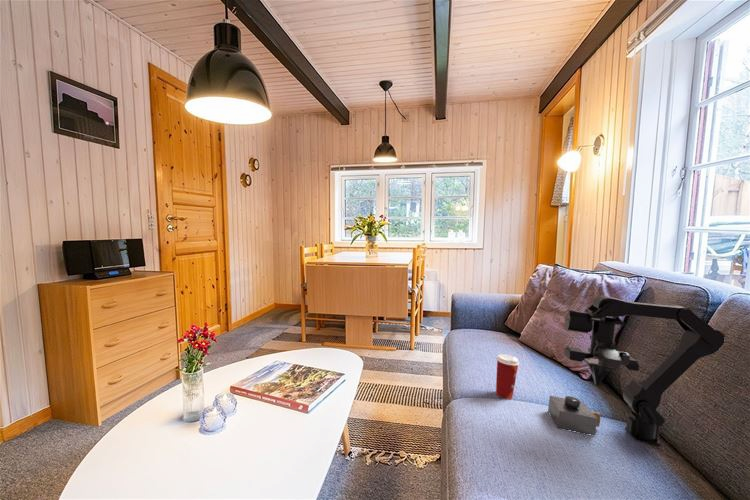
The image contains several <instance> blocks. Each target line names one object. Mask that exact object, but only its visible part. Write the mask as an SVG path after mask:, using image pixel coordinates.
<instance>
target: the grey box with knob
mask: <svg viewBox="0 0 750 500" xmlns="http://www.w3.org/2000/svg"><path fill="white" fill-rule="evenodd" d="M548 398H549V399H548V409H547V412H548V414H549V413H550V414H549V416H550V415H551V416H550V417H552V418H551V420H552V419H553V420H552V422H553V423H554V425H555V424H556V425H555V427H556V426H557V427H556V428H557V429H558V430H562V429H565V430H564V431H567V430H571V431H570V432H572V431H576V432H580V433H579V434H581V433H585V434H584V435H586V434H591V435H595V436H596V429H597V428H600V423H601V415H602V414H601V413H600V412H599V411H594V410H591V409H590V408H589V407H588V406H587V405H586V403H585V402H584V401H581V400H580V408H579V409H573V408H570V407H568V406H566V405H565V397H559V396H554V395H549V397H548ZM576 432H575V433H576Z"/></svg>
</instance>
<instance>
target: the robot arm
mask: <svg viewBox="0 0 750 500" xmlns="http://www.w3.org/2000/svg"><path fill="white" fill-rule="evenodd" d="M626 316H638V317H647V318H655V319H656V318H658V319H666V320H667V319H668V320H674V321H675V322H676V324H678V326H679V327H680V328H681V330H683V331H684V333H683V334H682V336H681V338H680V343H679V346H678V348H676V349H675V350H674V352H672V354H670V356H668V357H667V358H666V359H665V360H664V361H663V362H662V363H661V364H660V365H658V367H656V369H655V370H654V371H652V373H651V374H650V375H648V376H647V377H646V379H644V380H643V381H639V382H637V381H636V380H635V379H632V380H631V381H630V382H629V384H628V385H626V386H625V387H623V390H624V391H623V393H622V397H623V400H624V401H625V403H626V404H628V408H629V409H630V410H631V411H630V412H629V416H628V417H627V420H626V426H624V429H625V430H626V431H627V432H628V433H629V434H630V435H631V437H633V439H634V440H636V441H638V440H640V441H639V442H643V441H645V442H644V443H648V442H649V443H648V444H652V445H658V446H662V443H661V441H659V437H660V436H659V433H660V427H662V426H663V425H664V423H665V422H666V419H665V418H664V417H663V416H662V415H661V414H660V412H659V411H657V409H658V408H659V407H660V405H661V401H662V396H663V394H664V393H665V392H666V391H667V390H668V389H669V388H670V387H671V386H672V385H673V384H674V383H675V382H676V381H678V380H679V378H681V376H682V375H684V374H685V373H686V372H687V371H688V370H689V369H690V368H691V367H692V366H693V365H694V364H695V363H696V362H697V361H698V360H700V359H703V358H705V357H709V356H712V355H714V354H716V353H717V352H719V351H720V350H719V348H720V347H721V346H722V345H723V343H724V337H726V336H725V334H724V333H723V332H722V331H720V330H718V329H714V328H713V327H712V326H711V325H710V324H708V323H707V322H706V321H704V320H703V319H702V318H700V317H699V316H697V314H696V313H694V312H693V311H692V310H691V309H690V308H688V307H685V306H681V305H666V304H655V303H647V302H638V301H637V302H636V301H627V300H623V299H620V298H617V297H612V296H608V295H597V297H595V298H594V300H593V301H592V304H591V305H589V307H588V308H586V309H585V310H584V311H577V310H575V309H567V313H566V315H565V318H564V329H565V331H569V332H574V333H581V334H588V333H591V335H589V340H590V346H589V347H588V349H587V351H586V352H584V351H582V349H580V348H578V347H573V346H566V347H565V348H564V351H563V355H565V357H567V359H569V360H570V361H575V362H580V363H581V362H583V361H584V362H585V363H586V364H587V365H588V367H589V370H590V373H591V376H592V379H593V382H594V385H596V386H600V385H601V384H602V381H603V380H604V379H605V377H606V376H607V374H608V373H609V372H610V371H616V370H620V369H621V367H622V366H624V368H625V369H626V370H629V371H635V372H639V371H640V363H639V361H638V360H636V359H634V358H633V357H631V355H630V354H629V352H626V351H625V352H624V351H619V350H617V345H616V344H617V343H616V342H614V341H615V334H616V325H619V326H625V322H624V321H622V319H621V318H620V317H626ZM718 350H719V351H718Z"/></svg>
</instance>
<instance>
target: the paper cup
mask: <svg viewBox="0 0 750 500" xmlns="http://www.w3.org/2000/svg"><path fill="white" fill-rule="evenodd" d="M496 361H497V362H496V380H495V381H496V383H495V394H496V396H498V397H499V398H502V399H505V400H512V399H513V396H514V391H515V387H516V386H515V385H516V380H517V374H518V367H519V365H520V361H519V359H518V358H517V357H515V356H513V355H510V354H507V353H506V354H504V353H503V354H498V356H497V358H496Z"/></svg>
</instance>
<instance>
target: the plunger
mask: <svg viewBox="0 0 750 500" xmlns="http://www.w3.org/2000/svg"><path fill="white" fill-rule="evenodd" d="M564 398H565V405H566V406H568V407H570V408H573V409H579V408H580V401H581V400H580V399H578V398H577V397H573V396H570V395H566V396H565V397H564Z"/></svg>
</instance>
